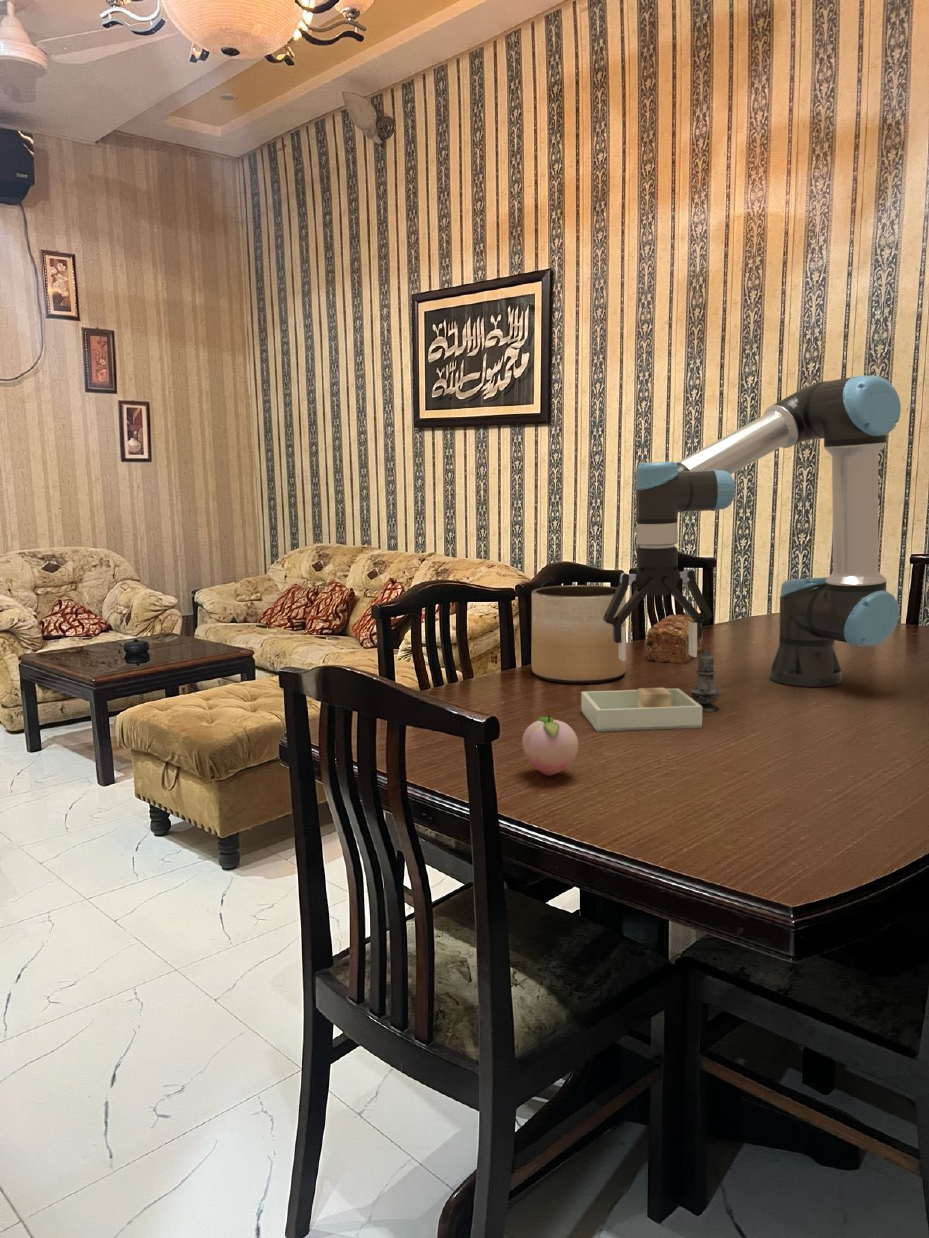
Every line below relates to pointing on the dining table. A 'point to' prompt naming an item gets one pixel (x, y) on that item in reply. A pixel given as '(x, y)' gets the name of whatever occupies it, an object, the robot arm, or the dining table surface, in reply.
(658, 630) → the bread
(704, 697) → the dark grey tall piece
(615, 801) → the dining table surface
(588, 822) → the dining table surface
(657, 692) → the maple cube
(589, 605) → the planter
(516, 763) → the dining table surface
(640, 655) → the dining table surface
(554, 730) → the decorative fruit
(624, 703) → the tray
